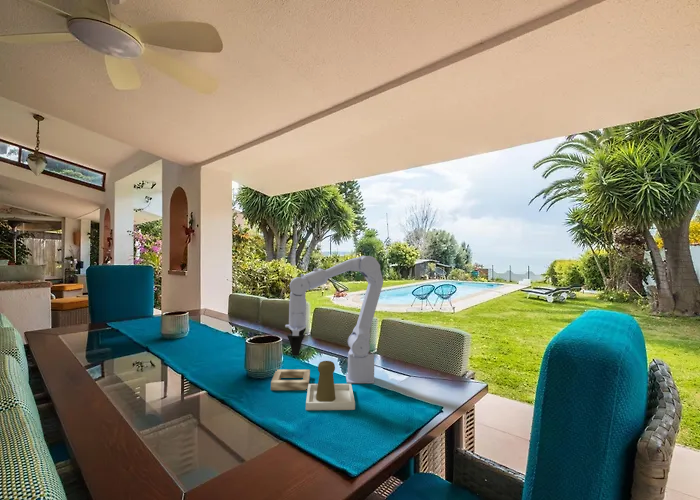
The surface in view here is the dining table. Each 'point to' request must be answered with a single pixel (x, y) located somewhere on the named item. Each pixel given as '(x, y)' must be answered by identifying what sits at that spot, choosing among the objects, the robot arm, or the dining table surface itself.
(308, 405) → the tray
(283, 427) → the dining table surface
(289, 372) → the frame
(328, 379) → the olive tall rounded piece
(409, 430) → the dining table surface
